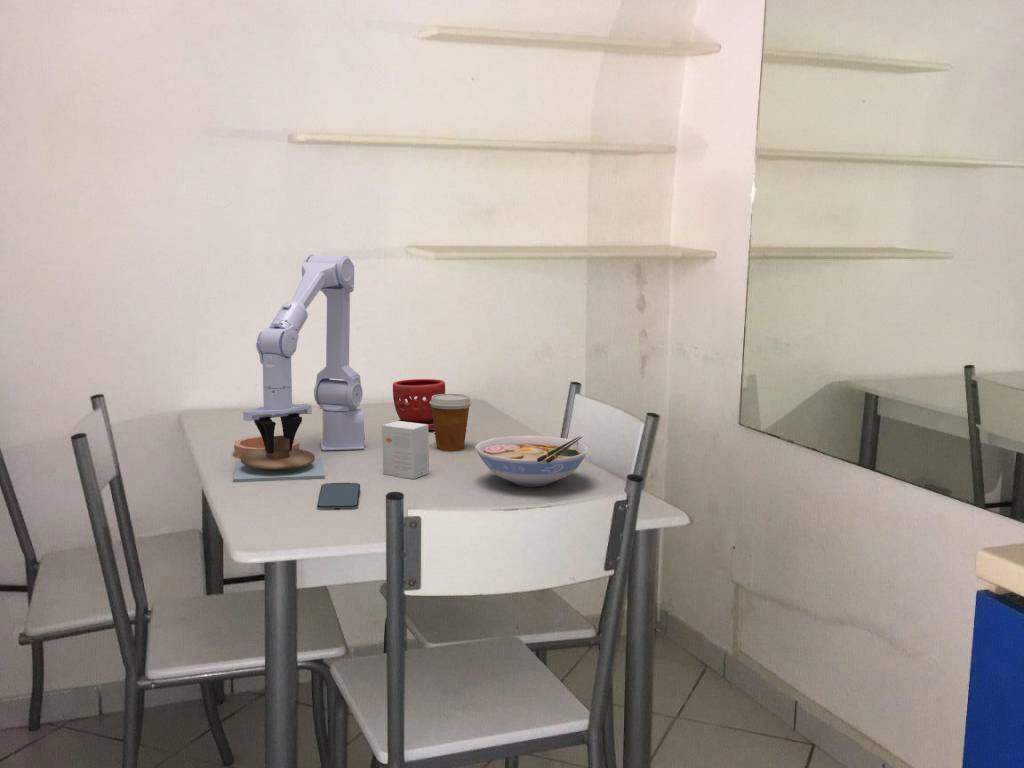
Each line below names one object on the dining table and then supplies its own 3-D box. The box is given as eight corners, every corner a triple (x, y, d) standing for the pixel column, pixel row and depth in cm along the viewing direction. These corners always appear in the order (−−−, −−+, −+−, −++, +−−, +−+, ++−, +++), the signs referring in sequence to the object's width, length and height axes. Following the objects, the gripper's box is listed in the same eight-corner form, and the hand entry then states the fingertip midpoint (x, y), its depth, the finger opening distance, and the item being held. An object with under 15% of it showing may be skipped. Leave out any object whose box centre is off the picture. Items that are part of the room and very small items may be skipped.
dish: (298, 445, 245) (298, 434, 244) (300, 459, 231) (299, 448, 231) (235, 447, 242) (235, 436, 241) (233, 461, 228) (233, 450, 228)
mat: (321, 460, 230) (321, 457, 230) (325, 478, 215) (324, 475, 215) (235, 463, 226) (235, 460, 226) (233, 482, 211) (232, 479, 211)
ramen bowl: (501, 464, 230) (502, 427, 228) (603, 474, 221) (604, 436, 220) (453, 491, 207) (454, 450, 205) (565, 504, 198) (566, 461, 197)
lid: (292, 447, 231) (292, 426, 230) (328, 462, 220) (328, 440, 219) (228, 456, 221) (227, 435, 221) (261, 472, 210) (261, 450, 209)
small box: (429, 474, 220) (429, 424, 218) (413, 479, 215) (413, 428, 213) (398, 469, 224) (398, 420, 222) (382, 474, 219) (381, 424, 217)
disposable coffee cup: (428, 452, 239) (428, 400, 238) (430, 443, 249) (430, 393, 247) (470, 453, 240) (471, 400, 238) (471, 444, 249) (471, 393, 247)
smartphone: (316, 506, 192) (321, 482, 206) (316, 515, 192) (321, 491, 207) (358, 505, 193) (360, 482, 207) (358, 514, 193) (360, 490, 208)
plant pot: (447, 423, 273) (447, 377, 271) (442, 434, 260) (443, 385, 258) (396, 422, 273) (396, 376, 271) (389, 433, 260) (389, 384, 258)
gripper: (299, 381, 225) (300, 443, 228) (235, 387, 216) (237, 452, 218) (316, 385, 220) (317, 449, 222) (251, 391, 211) (253, 458, 213)
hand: (278, 451), depth 220 cm, fingers closed on lid, 3 cm apart
